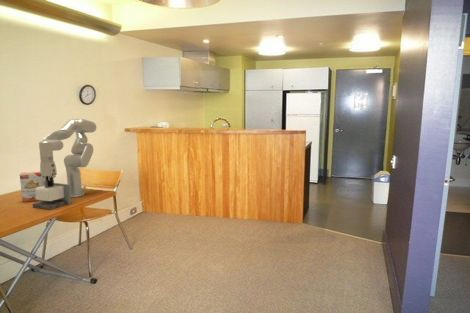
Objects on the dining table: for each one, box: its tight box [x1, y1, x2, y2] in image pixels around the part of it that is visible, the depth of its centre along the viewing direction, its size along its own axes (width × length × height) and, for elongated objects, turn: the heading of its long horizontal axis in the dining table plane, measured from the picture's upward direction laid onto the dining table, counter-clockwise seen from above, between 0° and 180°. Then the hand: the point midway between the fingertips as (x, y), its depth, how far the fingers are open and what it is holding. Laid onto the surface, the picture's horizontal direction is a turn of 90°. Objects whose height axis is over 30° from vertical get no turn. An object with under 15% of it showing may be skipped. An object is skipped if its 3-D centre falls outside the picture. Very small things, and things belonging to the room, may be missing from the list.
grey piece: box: [32, 182, 72, 211], centre depth 222 cm, size 15×20×14 cm
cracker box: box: [19, 171, 45, 203], centre depth 234 cm, size 14×6×21 cm, turn 108°
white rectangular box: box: [35, 178, 64, 201], centre depth 221 cm, size 12×13×13 cm
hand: (49, 185), depth 221 cm, fingers closed on white rectangular box, 1 cm apart
